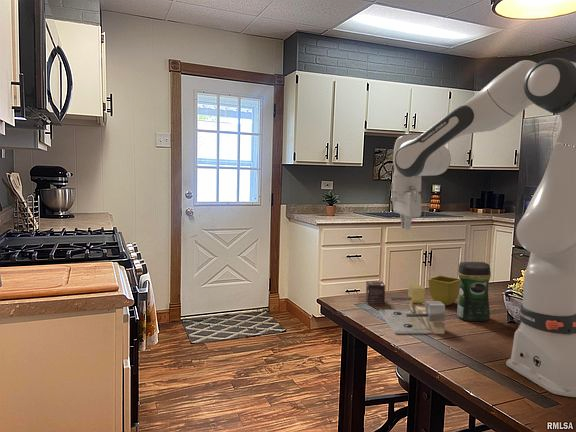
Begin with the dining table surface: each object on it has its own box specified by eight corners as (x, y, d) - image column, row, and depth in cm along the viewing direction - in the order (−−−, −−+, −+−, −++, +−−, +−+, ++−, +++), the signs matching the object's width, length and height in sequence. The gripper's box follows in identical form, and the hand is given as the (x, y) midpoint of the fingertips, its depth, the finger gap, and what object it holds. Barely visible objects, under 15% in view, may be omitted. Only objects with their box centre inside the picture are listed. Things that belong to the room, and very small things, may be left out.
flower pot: (426, 302, 158) (427, 278, 157) (438, 298, 164) (439, 275, 163) (449, 308, 151) (450, 283, 151) (461, 303, 157) (462, 279, 156)
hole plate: (428, 333, 126) (429, 330, 126) (394, 333, 126) (395, 330, 126) (409, 312, 146) (409, 309, 146) (379, 312, 146) (379, 309, 146)
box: (365, 300, 161) (366, 280, 161) (381, 300, 161) (382, 281, 160) (368, 304, 155) (368, 284, 155) (384, 305, 155) (385, 285, 154)
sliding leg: (424, 302, 146) (425, 288, 146) (393, 303, 146) (393, 288, 146) (420, 299, 150) (421, 285, 150) (390, 299, 150) (390, 285, 150)
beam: (446, 333, 126) (447, 307, 126) (410, 333, 126) (410, 307, 126) (420, 308, 150) (421, 286, 150) (390, 308, 150) (390, 286, 150)
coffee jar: (482, 314, 144) (485, 259, 143) (492, 322, 136) (495, 264, 135) (453, 314, 145) (455, 259, 143) (461, 321, 137) (463, 264, 135)
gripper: (427, 186, 128) (426, 232, 129) (407, 185, 149) (406, 225, 150) (406, 186, 128) (405, 232, 129) (389, 185, 148) (388, 225, 150)
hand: (405, 228), depth 140 cm, fingers closed
